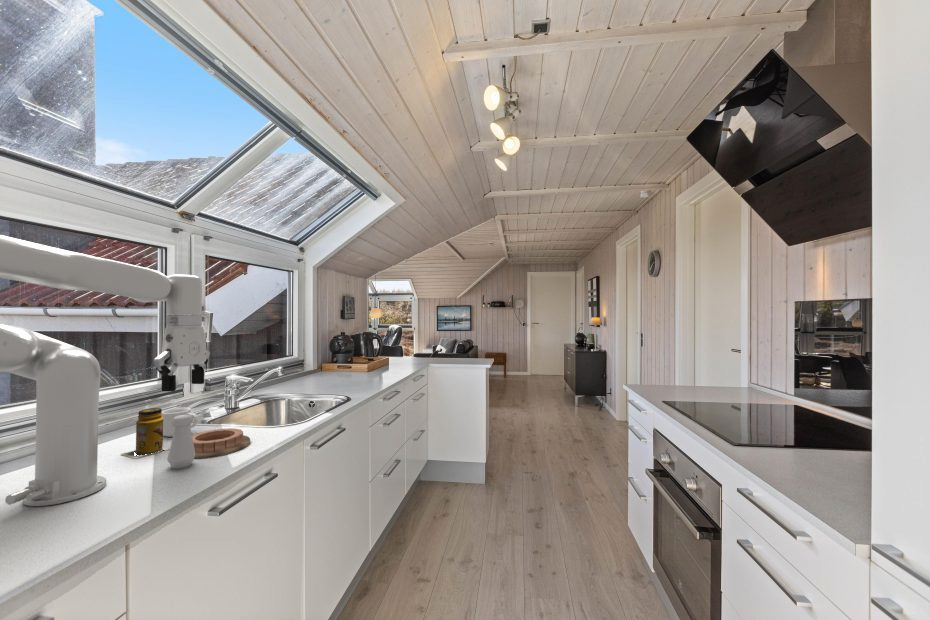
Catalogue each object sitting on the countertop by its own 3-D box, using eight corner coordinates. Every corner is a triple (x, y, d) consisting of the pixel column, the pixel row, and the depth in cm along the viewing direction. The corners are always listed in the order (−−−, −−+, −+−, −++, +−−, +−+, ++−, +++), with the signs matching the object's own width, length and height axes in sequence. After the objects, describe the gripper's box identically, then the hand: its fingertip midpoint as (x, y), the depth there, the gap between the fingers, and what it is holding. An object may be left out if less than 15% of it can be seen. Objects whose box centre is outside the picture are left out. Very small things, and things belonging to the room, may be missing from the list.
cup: (204, 430, 129) (204, 407, 129) (189, 438, 121) (189, 413, 121) (171, 431, 128) (171, 407, 129) (153, 438, 120) (154, 413, 121)
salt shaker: (183, 470, 96) (184, 418, 96) (161, 470, 96) (162, 418, 96) (200, 461, 102) (201, 413, 102) (179, 461, 102) (180, 412, 102)
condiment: (169, 449, 111) (170, 408, 111) (135, 459, 103) (136, 415, 104) (155, 445, 114) (155, 405, 114) (120, 455, 106) (121, 412, 106)
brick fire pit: (224, 459, 104) (224, 446, 104) (160, 457, 104) (160, 445, 104) (262, 438, 122) (262, 427, 122) (207, 437, 122) (208, 426, 122)
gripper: (171, 322, 91) (170, 394, 91) (220, 321, 108) (220, 381, 108) (141, 322, 91) (140, 394, 91) (195, 321, 108) (195, 381, 108)
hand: (183, 387), depth 99 cm, fingers open, 9 cm apart
